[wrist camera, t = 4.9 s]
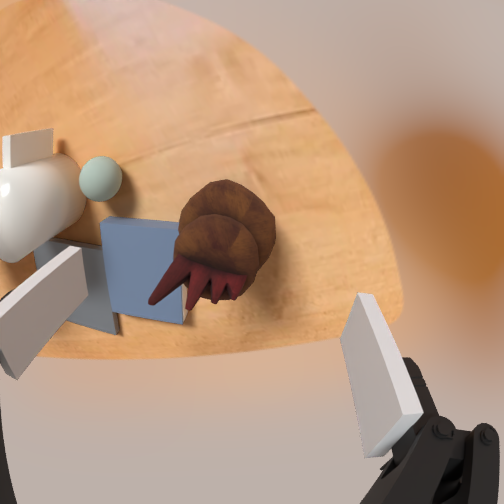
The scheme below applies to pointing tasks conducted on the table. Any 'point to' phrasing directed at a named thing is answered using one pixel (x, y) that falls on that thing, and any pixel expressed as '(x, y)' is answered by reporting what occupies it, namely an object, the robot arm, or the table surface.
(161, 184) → the table surface
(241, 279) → the wooden figurine
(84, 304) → the coaster
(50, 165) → the mug
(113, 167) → the ball
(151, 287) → the book
